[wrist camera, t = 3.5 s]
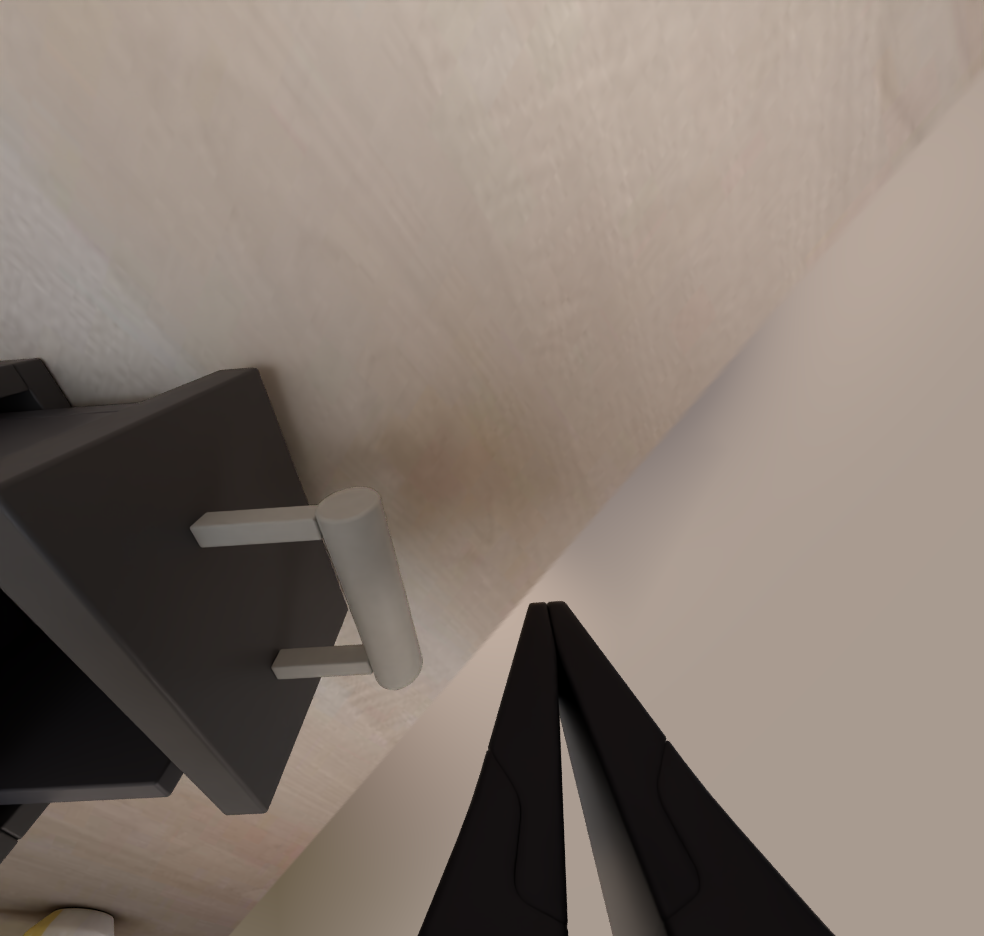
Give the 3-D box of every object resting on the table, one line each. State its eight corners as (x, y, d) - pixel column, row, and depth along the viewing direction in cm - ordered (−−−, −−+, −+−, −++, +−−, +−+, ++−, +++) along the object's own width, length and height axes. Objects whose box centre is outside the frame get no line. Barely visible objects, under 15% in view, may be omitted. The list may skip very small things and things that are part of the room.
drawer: (399, 355, 11) (294, 468, 5) (446, 603, 16) (422, 807, 10) (-146, 397, 11) (-852, 548, 5) (67, 626, 16) (-174, 835, 10)
